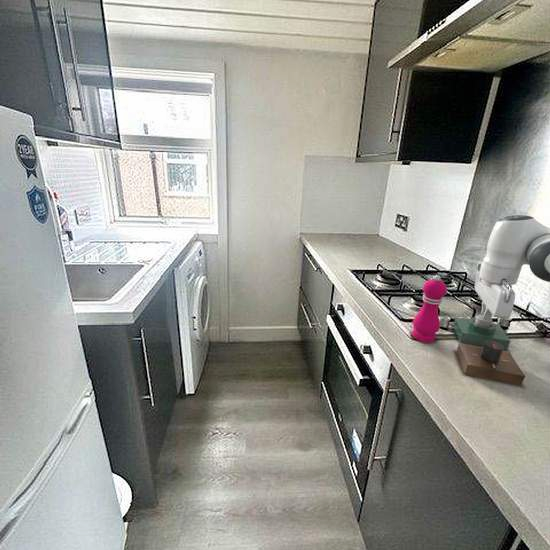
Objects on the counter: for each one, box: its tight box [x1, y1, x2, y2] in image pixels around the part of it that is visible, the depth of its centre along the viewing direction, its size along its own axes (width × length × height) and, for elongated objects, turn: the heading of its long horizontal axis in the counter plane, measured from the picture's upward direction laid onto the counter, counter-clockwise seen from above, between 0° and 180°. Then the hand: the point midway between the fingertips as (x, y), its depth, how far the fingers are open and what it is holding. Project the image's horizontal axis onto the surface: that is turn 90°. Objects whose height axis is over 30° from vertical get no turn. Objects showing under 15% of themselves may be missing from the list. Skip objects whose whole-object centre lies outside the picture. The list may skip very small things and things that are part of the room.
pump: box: [475, 314, 493, 327], centre depth 90 cm, size 4×4×2 cm
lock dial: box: [481, 340, 504, 363], centre depth 76 cm, size 4×4×4 cm
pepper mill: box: [411, 274, 448, 343], centre depth 87 cm, size 7×7×20 cm
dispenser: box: [452, 316, 511, 352], centre depth 91 cm, size 12×10×5 cm
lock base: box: [456, 342, 526, 387], centre depth 78 cm, size 12×10×3 cm
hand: (485, 317), depth 89 cm, fingers closed
